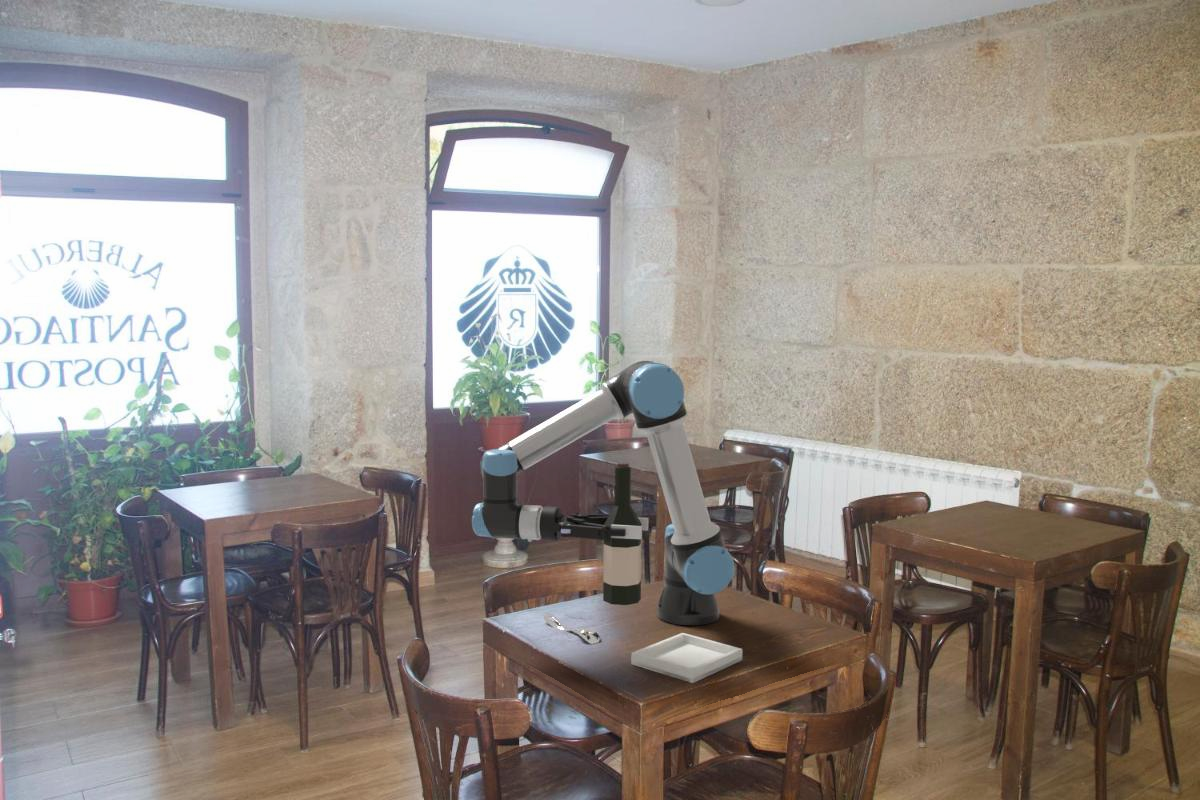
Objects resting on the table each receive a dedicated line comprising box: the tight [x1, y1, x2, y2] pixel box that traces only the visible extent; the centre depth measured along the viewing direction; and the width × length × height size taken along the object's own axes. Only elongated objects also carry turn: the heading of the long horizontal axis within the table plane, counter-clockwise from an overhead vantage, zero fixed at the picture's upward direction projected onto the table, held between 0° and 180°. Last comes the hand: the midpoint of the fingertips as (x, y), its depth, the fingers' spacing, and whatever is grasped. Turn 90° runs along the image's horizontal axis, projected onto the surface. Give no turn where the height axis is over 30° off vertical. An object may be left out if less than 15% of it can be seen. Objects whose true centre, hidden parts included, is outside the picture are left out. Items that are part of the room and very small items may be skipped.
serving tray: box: [630, 632, 743, 684], centre depth 216 cm, size 18×16×2 cm
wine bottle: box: [602, 461, 642, 606], centre depth 219 cm, size 8×8×30 cm
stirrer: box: [543, 613, 601, 645], centre depth 236 cm, size 20×4×5 cm
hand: (644, 528), depth 218 cm, fingers closed on wine bottle, 8 cm apart
